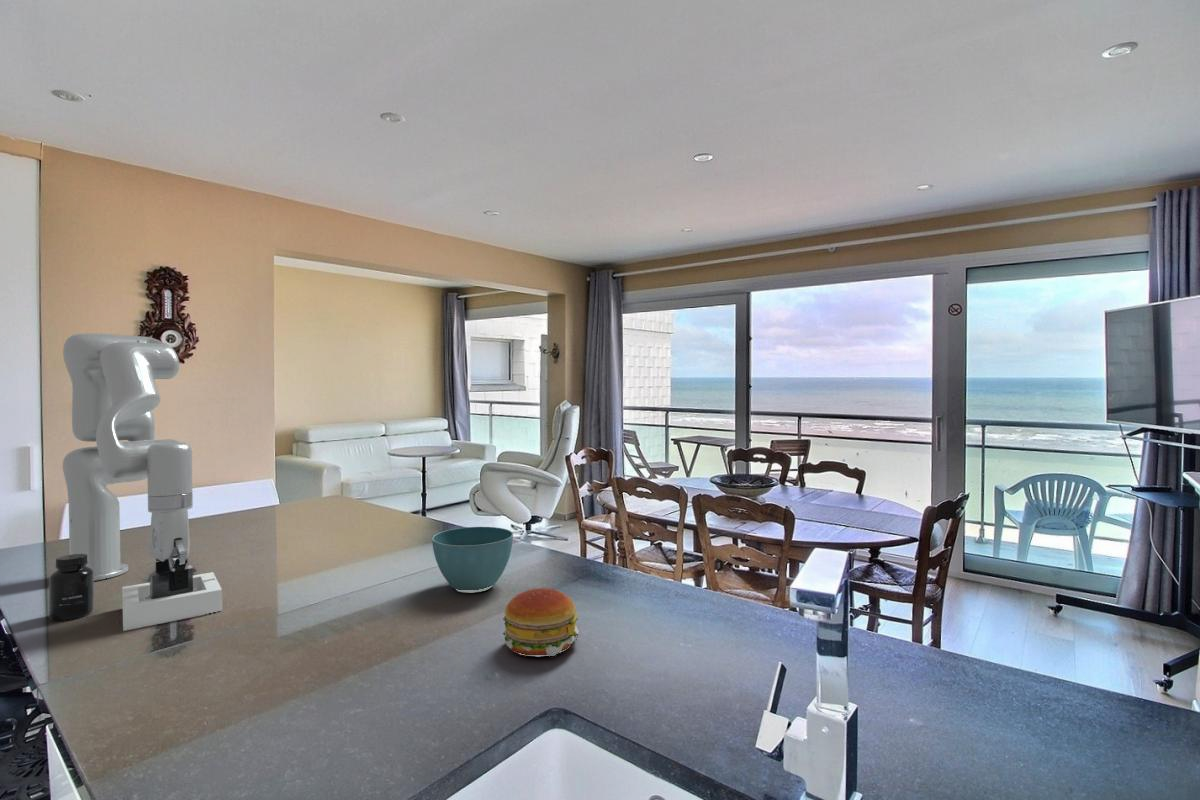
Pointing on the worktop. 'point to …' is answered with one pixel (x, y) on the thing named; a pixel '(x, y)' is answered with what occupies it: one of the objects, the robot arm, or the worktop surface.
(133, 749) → the worktop surface
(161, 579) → the dial
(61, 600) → the supplement bottle
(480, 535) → the teal bowl
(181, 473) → the robot arm
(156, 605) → the dial housing
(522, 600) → the burger
